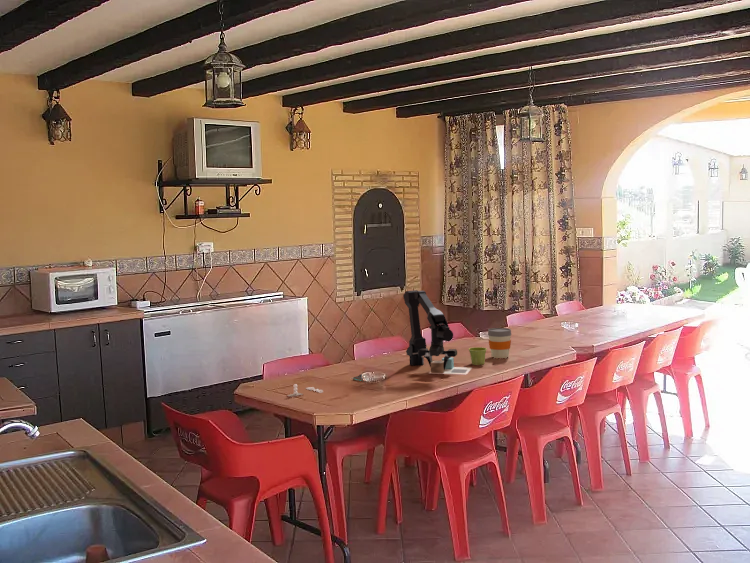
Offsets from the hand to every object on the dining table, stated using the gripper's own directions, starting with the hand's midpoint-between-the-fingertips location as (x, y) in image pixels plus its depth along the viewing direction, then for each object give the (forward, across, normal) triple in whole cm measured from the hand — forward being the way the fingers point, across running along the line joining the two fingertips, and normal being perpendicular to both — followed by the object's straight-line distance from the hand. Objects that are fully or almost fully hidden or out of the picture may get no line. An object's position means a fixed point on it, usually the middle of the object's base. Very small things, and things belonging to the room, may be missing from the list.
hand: (438, 369), depth 377 cm
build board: (+2, +6, +4) cm, 7 cm away
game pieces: (+3, -45, -36) cm, 58 cm away
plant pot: (+2, +16, +22) cm, 27 cm away
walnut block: (+1, 0, 0) cm, 1 cm away
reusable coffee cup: (+2, +24, +45) cm, 51 cm away
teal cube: (+1, +3, +9) cm, 10 cm away
